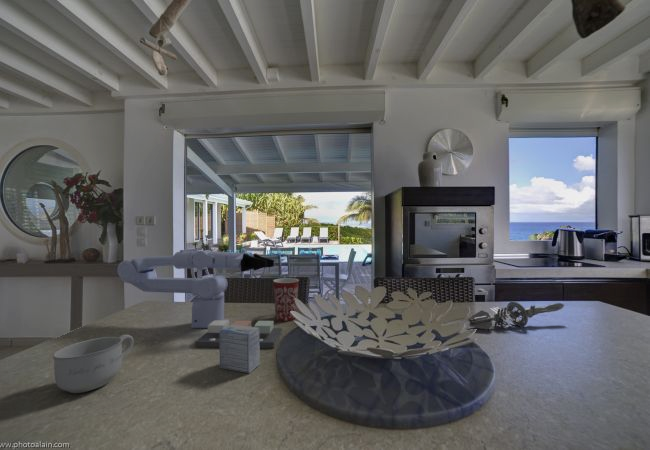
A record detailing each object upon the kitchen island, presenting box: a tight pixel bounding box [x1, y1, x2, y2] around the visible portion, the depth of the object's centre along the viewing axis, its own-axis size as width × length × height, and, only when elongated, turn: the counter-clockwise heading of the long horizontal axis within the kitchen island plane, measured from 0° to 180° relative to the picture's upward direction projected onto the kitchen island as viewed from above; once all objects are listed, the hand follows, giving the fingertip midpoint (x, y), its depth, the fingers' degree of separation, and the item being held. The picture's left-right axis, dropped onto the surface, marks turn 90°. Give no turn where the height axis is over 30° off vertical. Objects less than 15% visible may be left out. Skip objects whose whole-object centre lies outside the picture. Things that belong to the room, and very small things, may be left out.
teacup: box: [52, 334, 135, 394], centre depth 59 cm, size 14×11×8 cm
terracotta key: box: [231, 320, 252, 327], centre depth 81 cm, size 4×4×2 cm
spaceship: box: [467, 300, 565, 330], centre depth 92 cm, size 8×35×8 cm
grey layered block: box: [219, 324, 261, 374], centre depth 65 cm, size 8×4×9 cm, turn 71°
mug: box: [272, 277, 300, 322], centre depth 103 cm, size 13×9×14 cm
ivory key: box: [207, 320, 230, 333], centre depth 81 cm, size 4×4×2 cm
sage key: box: [253, 320, 275, 333], centre depth 81 cm, size 4×4×2 cm
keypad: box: [194, 327, 283, 349], centre depth 81 cm, size 21×11×2 cm, turn 88°
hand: (270, 263), depth 92 cm, fingers open, 7 cm apart
